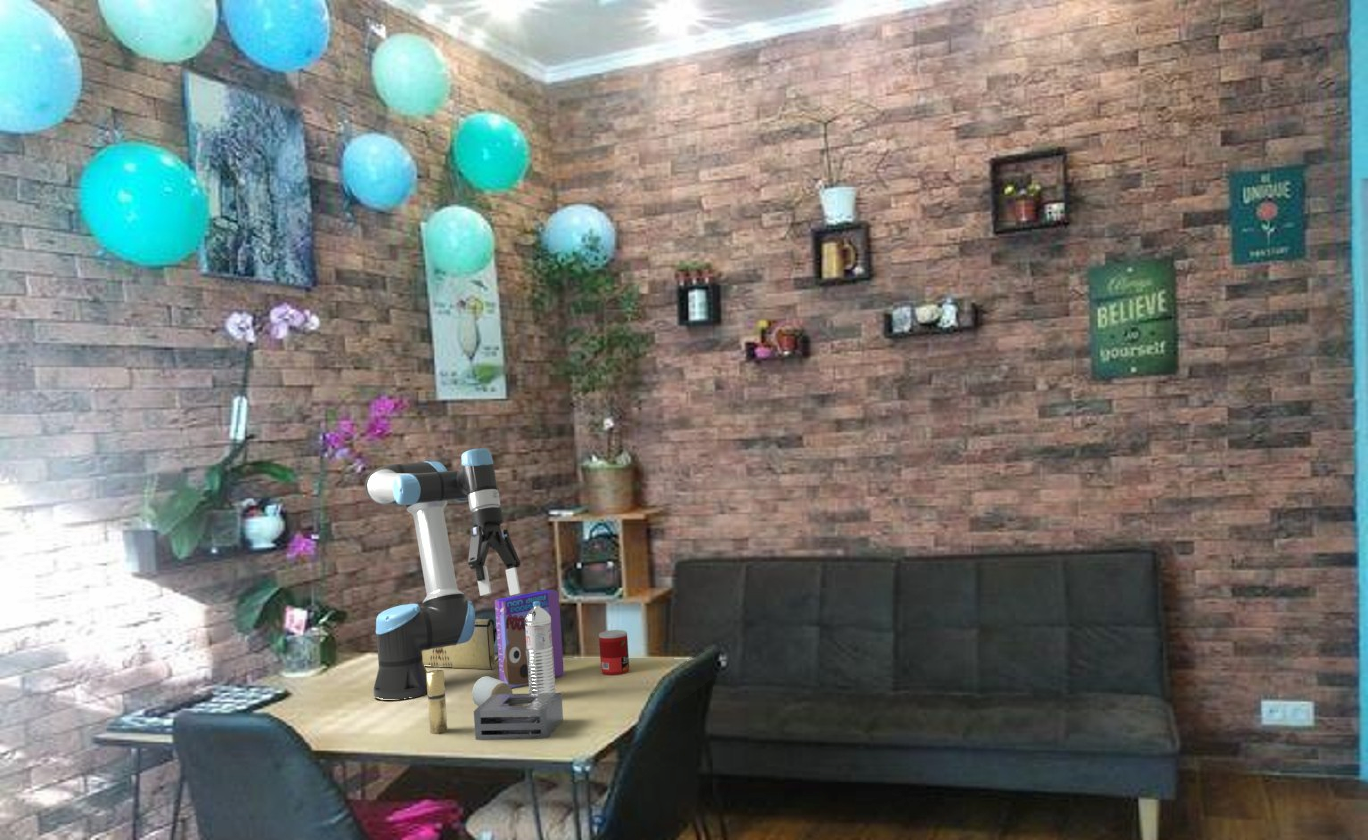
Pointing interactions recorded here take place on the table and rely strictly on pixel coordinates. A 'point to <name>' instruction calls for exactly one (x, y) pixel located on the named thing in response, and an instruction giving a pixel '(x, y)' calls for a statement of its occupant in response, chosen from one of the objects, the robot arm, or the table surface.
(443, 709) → the gold domed cylinder
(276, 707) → the table surface
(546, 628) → the water bottle
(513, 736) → the collar stand
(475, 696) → the ceramic mug
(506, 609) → the cereal box
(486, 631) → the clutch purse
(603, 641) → the canned food
